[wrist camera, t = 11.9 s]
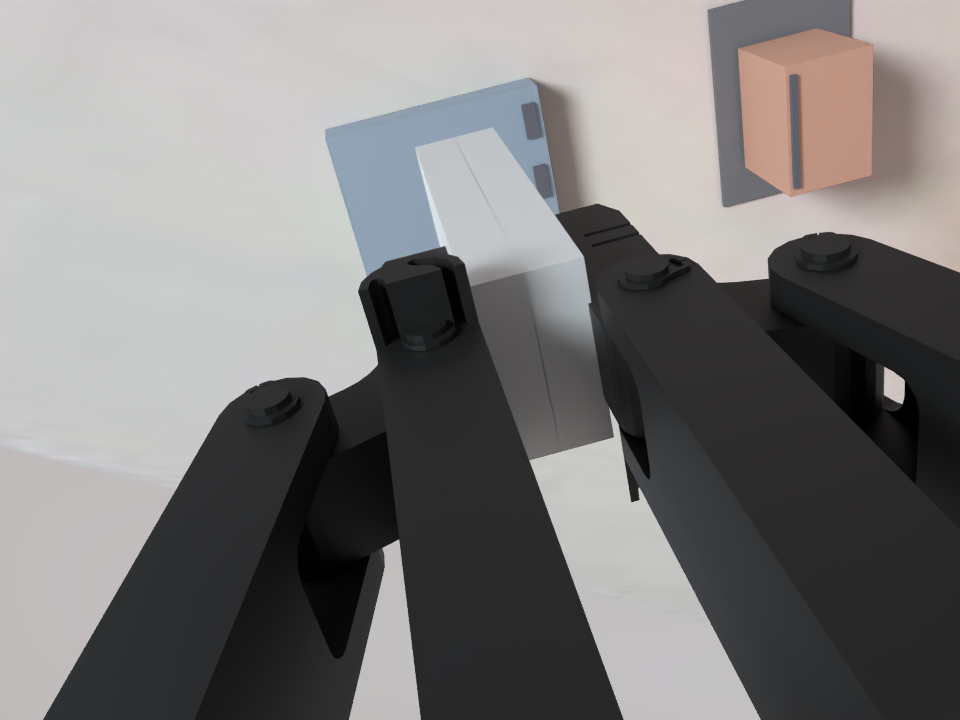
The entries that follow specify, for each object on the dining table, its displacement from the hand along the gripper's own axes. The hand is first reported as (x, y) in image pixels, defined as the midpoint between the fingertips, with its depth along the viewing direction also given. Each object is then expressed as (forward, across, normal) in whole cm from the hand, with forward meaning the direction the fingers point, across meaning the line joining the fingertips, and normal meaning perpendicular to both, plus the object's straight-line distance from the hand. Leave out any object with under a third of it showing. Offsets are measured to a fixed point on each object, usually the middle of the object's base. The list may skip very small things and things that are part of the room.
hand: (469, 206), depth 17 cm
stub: (+26, +18, -8) cm, 33 cm away
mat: (+26, +18, -8) cm, 33 cm away
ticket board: (+26, +1, -10) cm, 28 cm away
